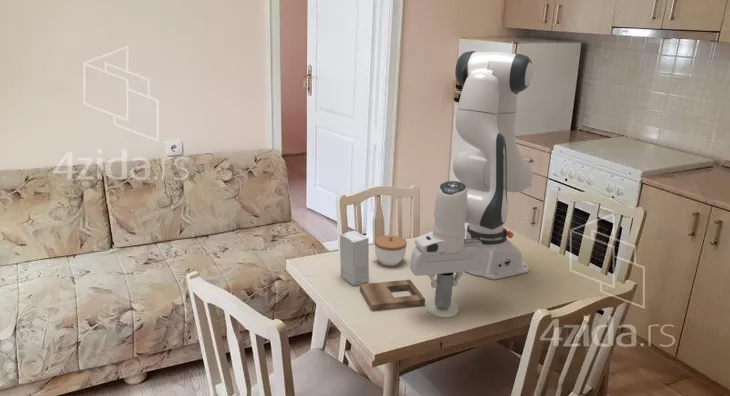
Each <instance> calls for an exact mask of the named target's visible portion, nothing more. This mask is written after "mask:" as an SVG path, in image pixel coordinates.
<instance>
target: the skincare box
mask: <svg viewBox="0 0 730 396" xmlns="http://www.w3.org/2000/svg"><path fill="white" fill-rule="evenodd" d="M369 239H370V238H369V237H367V236H365V235H364V234H361V232H360V233H359V232H358V231H356V230H352V231H348V232H343V233H340V234H339V245H340V246H339V248H340V249H339V250H340V254H339V257H340V278H342V279H343V280H345V281H346V282H348V283H349V284H351V285H352V286H354V287H355V286H357V285H358V286H360V284H368V283H370V282H369V281H370V277H369V276H370V274H369V273H370V272H369V271H370V268H369V265H370V263H369V260H370V259H369V258H370V257H369V256H370V255H369V250H370V249H369Z"/></svg>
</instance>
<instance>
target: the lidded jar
mask: <svg viewBox="0 0 730 396" xmlns="http://www.w3.org/2000/svg"><path fill="white" fill-rule="evenodd" d="M407 244H408V242H407V240H406V239H405V238H404V237H402V236H398V235H393V234H387V235H380V236H377V237H376V238H375V239H374V253H375V257H376V259H377V260H378V261H379V262H380V264H381V265H383V266H385V267H386V266H387V267H395V266H397V265H399V263H401V262H402V261H403V259H404V258H405V255H406V250H407Z"/></svg>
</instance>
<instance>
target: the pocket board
mask: <svg viewBox="0 0 730 396" xmlns="http://www.w3.org/2000/svg"><path fill="white" fill-rule="evenodd" d="M359 291H360V293H361V294H362V296H363V298H364V300H365V302H366V303H367V306H368V307H369V309H370V311H371V312H374V311H375V312H376V311H377V312H378V311H385V310H396V309H403V308H404V309H405V308H413V307H423V306H425V305H426V299H425V297H424V296H423V294H422V293H421V291H419V289H418V288H417V286H416V285H415V284H414V283H413V281H412V280H411V279H401V280H400V279H399V280H392V281H380V282H371V283H370V282H367V283H363V284H359ZM404 291H405V292H407V291H408V292H409V293H410V295H405V296H404V295H403V296H395V297H394V295H393V293H394V292H404Z"/></svg>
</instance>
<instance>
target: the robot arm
mask: <svg viewBox="0 0 730 396" xmlns="http://www.w3.org/2000/svg"><path fill="white" fill-rule="evenodd" d="M533 74H534V68H533V61H532V60H531V58H530V57H529V56H527V55H525V54H520V53H517V54H516V53H511V52H505V51H499V50H497V51H475V50H472V51H471V50H470V51H465V52H463V53H462V54H461V55H459V56H458V59H457V60H456V65H455V79H456V81H457V83H458V84H459V86H461V89H462V90H461V93H460V97H459V100H458V106H457V110H456V111H457V112H456V116H455V117H456V118H455V129H456V131H457V133H458V135H459V137H461V139H462V140H463V141H464V142H465V143H466V144H469V145H470V146H471V147H474V148H475V149H476V150H475V149H473V150H472V149H471V150H469V149H467V150H465V149H464V150H461V151H460V152H459V153H458V154H457V155H456V156H455V158H454V160H453V163H452V171H453V174H454V176H455V178H456V179H457V180H458V181H456V180H448V181H444V182H443V183H441V184H440V185H439V186H438V189H437V193H436V196H435V202H434V212H433V216H434V217H433V218H434V224H433V227H432V230H431V231H429V232H427V233H425V234H422V235H418V236H416V238H415V239H414V243H415V245H416V246H415V247H414V248H413V249H412V252H411V256H410V262H409V269H410V271H411V272H412V274H413V275H414V276H416V277H420V276H421V277H422V276H428V278H429V279H430V286H431V288H432V289H436V288H437V287H438V281H437V279H434V278H436V275H437V274H444V273H454V275H453V286H452V287H456V286H457V287H458V285H459V281H460V279H461V278H462V276H463V273H465V272H467V273H468V274H471V275H474V276H479V277H484V278H487V279H490V280H498V279H503V278H508V277H512V276H517V275H521V274H526V273H528V272H529V265H528V264H527V263H526V262H525V261H524V260H523V256H522V252H521V250H520V248H518V247H517V246H516V245H515V244H514V243H513V242H512V241H510V240H509V239H512V238H513V237H514V235H515V234H514V232H512V231H510V230H507V229H506V228H505V227H504V224H505V223H506V221H507V218H508V214H509V205H508V203H509V202H508V194H507V193H522V192H524V191H525V190H526V189H528V187H529V186H530V185H531V183H532V180H533V169H532V166H531V165H530V163H529V162H528V161H527V160H526V159H525V157H524V156H523V155H522V153H521V152H520V150H519V146H518V145H517V140H516V133H515V132H516V118H517V110H518V109H517V108H518V94H520V92H523V91H525V90H526V89H528V87H529V85H530V83H531V81H532V79H533ZM465 224H468V225H467V228H466V227H465Z"/></svg>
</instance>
